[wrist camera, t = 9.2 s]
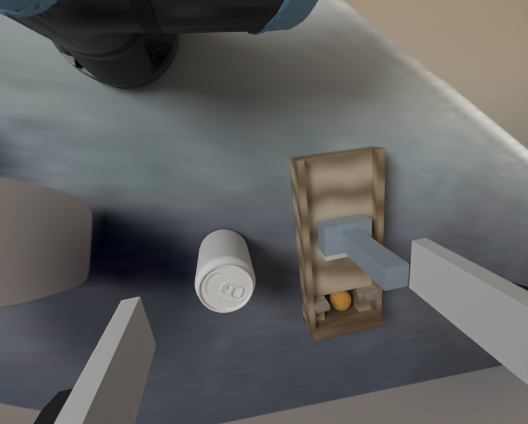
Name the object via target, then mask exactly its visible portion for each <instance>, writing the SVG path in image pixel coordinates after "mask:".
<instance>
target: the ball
mask: <svg viewBox="0 0 528 424" xmlns="http://www.w3.org/2000/svg"><path fill="white" fill-rule="evenodd" d="M330 303H331V305H332V306H333V307H334V308H335V309H337V310H340V311H343V310H346V309H348V308H349V306H350V305H351V296H350V294H349V293H348V292H347V291H341V292H337V293H332V294H330Z"/></svg>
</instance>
